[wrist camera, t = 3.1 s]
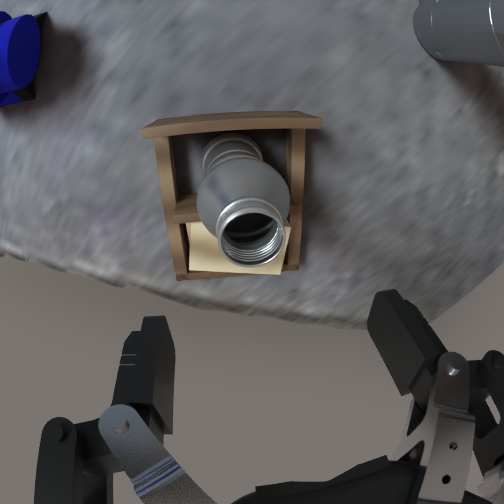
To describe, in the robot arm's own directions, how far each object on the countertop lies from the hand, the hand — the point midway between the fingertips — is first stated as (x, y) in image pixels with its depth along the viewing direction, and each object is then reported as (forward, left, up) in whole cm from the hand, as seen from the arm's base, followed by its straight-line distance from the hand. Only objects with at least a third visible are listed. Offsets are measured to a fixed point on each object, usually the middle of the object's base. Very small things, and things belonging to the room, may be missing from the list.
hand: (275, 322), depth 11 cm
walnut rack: (+5, 0, -26) cm, 27 cm away
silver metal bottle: (0, 0, -26) cm, 26 cm away
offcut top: (+9, 0, -23) cm, 25 cm away
